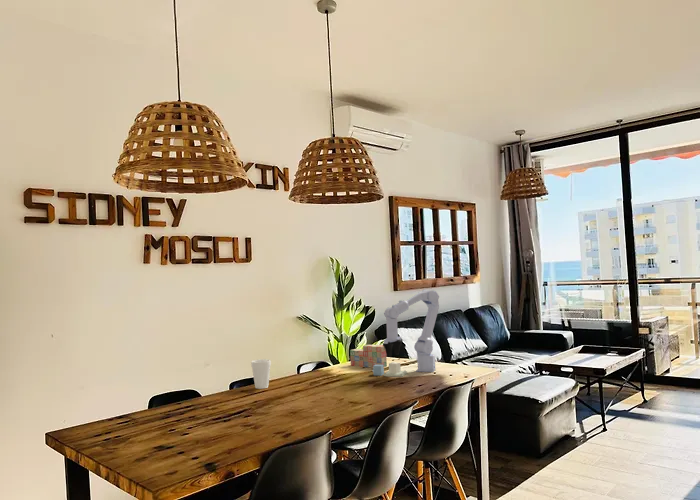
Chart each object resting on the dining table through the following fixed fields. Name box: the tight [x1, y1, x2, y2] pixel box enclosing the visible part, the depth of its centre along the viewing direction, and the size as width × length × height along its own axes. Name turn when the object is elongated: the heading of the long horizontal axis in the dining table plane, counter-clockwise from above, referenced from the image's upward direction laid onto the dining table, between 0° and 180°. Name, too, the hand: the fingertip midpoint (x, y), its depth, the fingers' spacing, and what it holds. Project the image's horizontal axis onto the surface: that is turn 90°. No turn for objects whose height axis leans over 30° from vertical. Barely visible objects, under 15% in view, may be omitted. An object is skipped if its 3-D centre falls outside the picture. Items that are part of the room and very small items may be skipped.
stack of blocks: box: [349, 344, 388, 368], centre depth 311 cm, size 21×6×12 cm, turn 57°
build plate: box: [383, 370, 408, 378], centre depth 282 cm, size 10×10×1 cm
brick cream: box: [388, 361, 402, 374], centre depth 282 cm, size 4×4×5 cm
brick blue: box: [372, 364, 385, 377], centre depth 284 cm, size 4×4×5 cm
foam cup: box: [250, 358, 272, 390], centre depth 263 cm, size 10×9×13 cm
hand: (393, 355), depth 282 cm, fingers open, 7 cm apart
